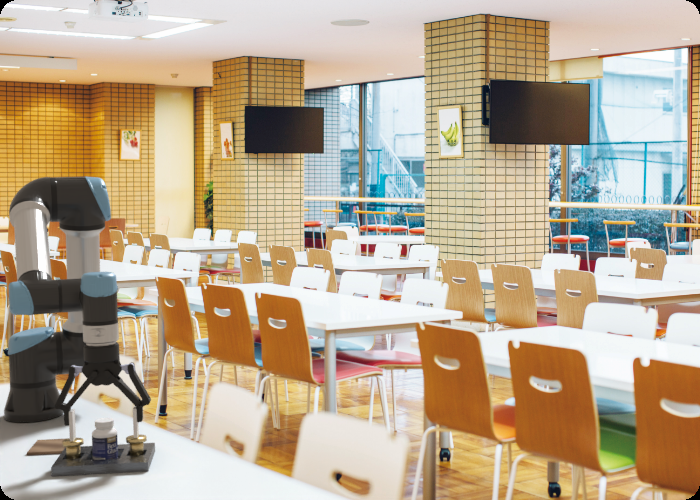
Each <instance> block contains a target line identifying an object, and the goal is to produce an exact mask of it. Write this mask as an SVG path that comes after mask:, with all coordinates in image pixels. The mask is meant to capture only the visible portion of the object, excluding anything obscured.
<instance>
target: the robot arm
mask: <svg viewBox="0 0 700 500" xmlns="http://www.w3.org/2000/svg"><path fill="white" fill-rule="evenodd" d="M110 203H111V202H110V197H109V194H108V190H107V185H106V183H105V180H104V179H103V178H102V177H97V176H96V177H95V176H58V177H57V176H55V177H51V176H44V177H43V176H42V177H39V178H35V179H33V180H30V181H29V182H28V183H26V184H25V185H24V186H22V187H21V188H20V189H18V191H17V192H16V194H15V195H14V196H13V198H12V199H11V202H10V205H9V210H8V214H9V215H8V218H9V222H10V224H11V226H12V227H13V229H14V232H13V233H14V247H15V264H16V267H15V268H16V281H12V282H9V284H8V305H9V312H10V314H12V315H14V316H32V315H35V316H36V315H44V314H45V315H47V314H57V313H67V320H66V321H64V322H63V324H62V327H61V328H62V331H55V329H54V327H52V326H41V327H34V328H30V329H25V330H21V331H19V332H16V333H14V334H12V335H11V336H10V337H9V338H8V344H7V345H8V346H7V347H8V348H7V350H8V351H7V355H8V369H9V371H8V373H9V392H8V395H7V398H6V402H5V405H4V406H5V407H4V410H3V415H4V416H3V417H4V420H6V421H7V422H11V423H33V422H34V423H35V422H42V421H47V420H51V419H55V418H58V417H60V416H62V415H63V420H64V421H63V423H64V426H67V427H68V429H69V438H70V441H74V440H75V438H77V433H76V427H77V426H76V409H75V408H73V406H74V405H75V403H76V402H77V400H78V399H80V397H81V396H82V395H83V393H85V391H86V390H87V389H88V387H89V386H90V385H93V386H95V387H99V386H110V385H114V386H115V387H116V388H117V389H118V390H119V391H120V392H121V393H122V394H123V395H124V397H126V398H127V399H128V400H129V402H131V403H132V404H133V405H134V406H133V408H132V424H133V430H132V431H133V435H134V438H137V437H138V435H140V431H139V430H140V428H139V423H142V422H143V419H144V407H145V406H149V405H150V403H151V401H152V399H151V397H150V394H149V393H148V391H147V389H146V387H145V386H144V384H143V381H141V379H140V377H139V375H138V373H137V371H136V366H135V363H134V362H132V361H131V362H129V363H126V364H122V363H121V361H120V343H118V340H120V335H119V334H120V333H119V332H120V331H119V315H118V289H119V286H118V284H117V283H118V282H117V275H116V274H115V273H114V272H112V271H101V257H100V256H101V254H100V253H101V249H100V248H101V246H100V244H101V243H100V242H101V241H100V234H101V232H103V230H104V229H105V228H106V222H108V221H110V220H111V219H112V215H111V211H112V210H111V204H110ZM50 223H59V225H58V226H59V227H58V228H59V229H60V231H62V233H64V234H65V253H66V254H65V255H66V279H65V278H63V279H59V278H58V279H53V275H52V274H53V273H52V265H51V257H50V255H51V254H50V245H49V244H50V243H49V236H48V235H49V234H48V225H49V224H50ZM122 371H124V373H125V374H127V375H128V376H129V379H130V381H131V382H132V384H133V385H134V388H135V389H136V391H137V393H138V395H139V396H140V397H139V396H138V395H137V394H136V393H135V392H134V391H133V390H132V389H131V388H130V386H129V385H127V384H126V382H125V381H124V380H123V378H122V377H121V376H120V374H121V372H122ZM81 373H82V374H83V376H84V377H85V378H86V379H85V381H84V382H83V383H82V385H81V386H80V387H79V388H78V389H77V391H76V392H75V393H74V394H73V395H72V397H71V398H70V400H68V402H67V403H66V402H65V400H66V398H67V396H68V394H69V392H70V389H71V388H72V385H73V384H74V381H75V379H76V377H78V376H79V375H80V374H81ZM58 375H59V376H60V375H68V377H67V378H66V381H65V383H64V385H63V388H62V389H61V390H60V391H61V392H59V389H58V387H57V379H56V377H57V376H58Z"/></svg>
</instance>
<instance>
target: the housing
mask: <svg viewBox="0 0 700 500" xmlns="http://www.w3.org/2000/svg"><path fill="white" fill-rule="evenodd" d="M143 444H144V454H143V455H136V456H130V444H129V443H125V444H124V443H122V444H121V443H120V444H118V459H103V460H93V454H92V445H80V449H81V457H80V458H79V459H66V447H65V448H64V450H63V451H62V453H61V454H59V456H58V457H57V459H56V460H55V461H54V463H53V464H52V466H51V467H50V468H51V472H50V473H51V477H65V476H66V477H67V476H69V477H70V476H87V475H101V474H102V475H103V474H119V473H122V474H123V473H135V472H136V473H137V472H138V473H139V472H140V473H141V472H148V471H149V469H150V467H151V464H152V462H153V459H154V456H155V453H156V443H155V442H143Z"/></svg>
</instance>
